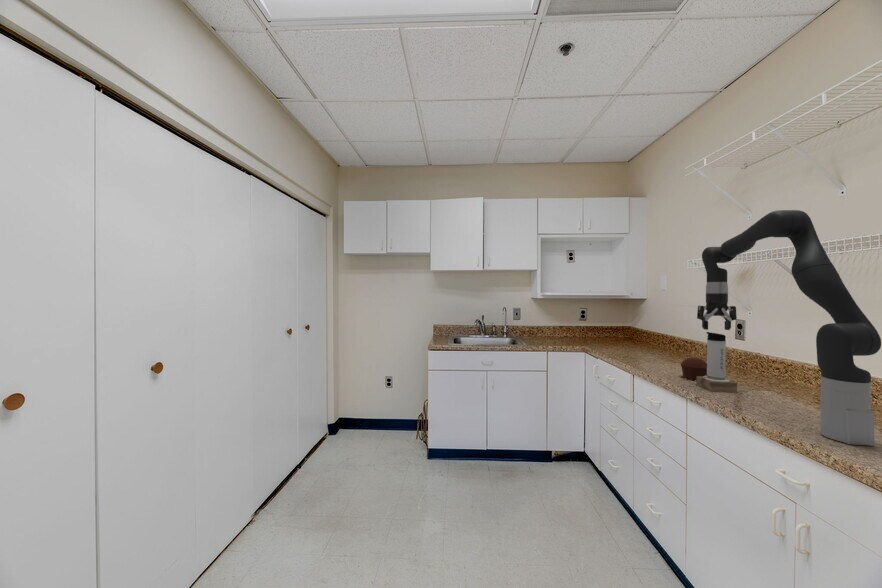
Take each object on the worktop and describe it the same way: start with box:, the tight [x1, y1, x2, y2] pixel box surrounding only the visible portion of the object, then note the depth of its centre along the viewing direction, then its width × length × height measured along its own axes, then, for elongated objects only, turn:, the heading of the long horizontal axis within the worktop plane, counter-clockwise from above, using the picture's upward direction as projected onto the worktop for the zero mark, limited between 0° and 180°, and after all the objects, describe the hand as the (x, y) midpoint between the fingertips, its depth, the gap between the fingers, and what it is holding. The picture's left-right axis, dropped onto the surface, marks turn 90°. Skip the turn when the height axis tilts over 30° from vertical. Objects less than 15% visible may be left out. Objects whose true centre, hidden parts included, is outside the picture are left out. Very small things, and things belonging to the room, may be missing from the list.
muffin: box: [680, 357, 707, 381], centre depth 164 cm, size 12×11×10 cm
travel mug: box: [705, 331, 727, 380], centre depth 147 cm, size 6×7×20 cm
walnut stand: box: [695, 376, 738, 393], centre depth 147 cm, size 10×10×4 cm
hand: (716, 329), depth 147 cm, fingers open, 8 cm apart
